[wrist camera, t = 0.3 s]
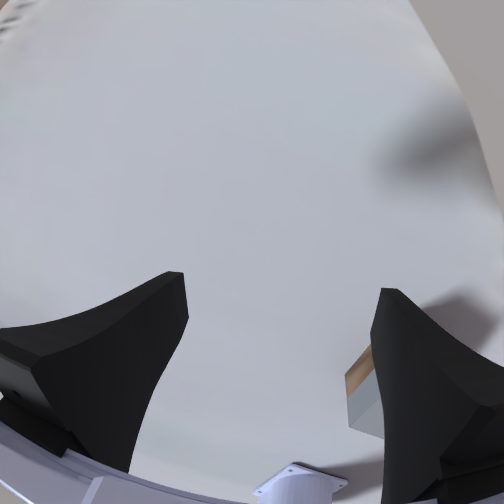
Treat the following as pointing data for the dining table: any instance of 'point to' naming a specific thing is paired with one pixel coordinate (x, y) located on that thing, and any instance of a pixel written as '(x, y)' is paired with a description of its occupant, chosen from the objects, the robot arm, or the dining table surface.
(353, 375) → the walnut slab
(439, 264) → the dining table surface
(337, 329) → the dining table surface
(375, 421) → the slate slab
